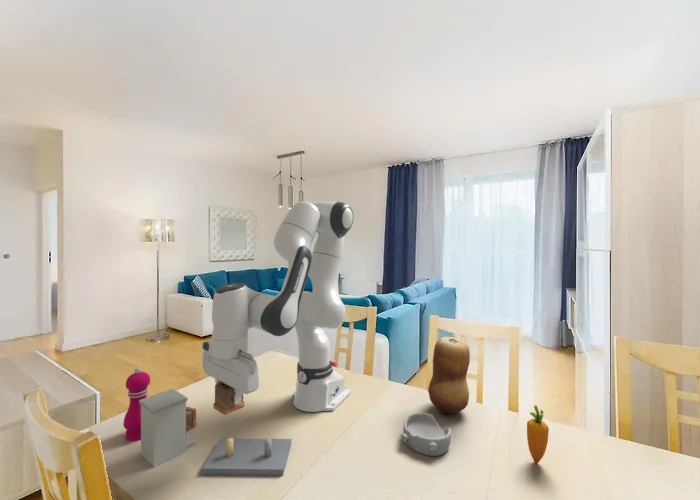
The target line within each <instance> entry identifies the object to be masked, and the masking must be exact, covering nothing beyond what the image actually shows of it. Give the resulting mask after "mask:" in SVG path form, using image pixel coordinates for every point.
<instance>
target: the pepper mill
mask: <svg viewBox="0 0 700 500" xmlns="http://www.w3.org/2000/svg"><path fill="white" fill-rule="evenodd" d="M142 370H143V369H142V368H141V367H136V368H135V369H134V373H132V374H130V375H129V376H128V377H127V378H126V382H125V388H126V389H127V391H128V392H127V393H128V394H127V397H128V398H129V405H128V408H127V411H126V413H125V416H124V419H123V428H124V430H126V431H125V439H126V440H127V441H129V442H133V441H134V442H137V441H139V440H140V441H141V404H140V403H139V400H141V399H144V398H147V397H148V396H147V395H148V394H149V387H148V386H149V385H150V383H151V377H150V375H149V373H147V372H145V371H142Z"/></svg>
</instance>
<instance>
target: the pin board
mask: <svg viewBox="0 0 700 500" xmlns="http://www.w3.org/2000/svg"><path fill="white" fill-rule="evenodd" d="M291 447H292V439H291V438H237V437H234V438H233V437H227V438H226V437H221V438H219V441H218V442H217V444H216V445H215V447H214V448H213V450H212V452H211V453H210V455H209V456H208V458H207V460H206V461H205V463H204V464H203V466H202V469H201V475H204V476H205V475H214V476H215V475H217V476H218V475H222V476H223V475H224V476H228V475H229V476H284V474H285V470H286V466H287V462H288V458H289V455H290V450H291Z"/></svg>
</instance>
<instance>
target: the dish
mask: <svg viewBox="0 0 700 500" xmlns="http://www.w3.org/2000/svg"><path fill="white" fill-rule="evenodd" d="M402 431H403V433H402V434H401V439H402V441H403V442H404V443H406V445H407V446H408V447H409V448H410V449H411V450H413V451H415V452H417V453H418V454H419V453H420V454H422V455H425V456H430V457H435V456H436V457H437V456H441V455H443V454H445V453H446V452H447V451H448V450H449V448H450V445H451V440H452V439H451V438H452V431H451V428H450V427H448V428H446V429H445V430H444V429H442V427H441V426H440V424H439V423H438V422H437V421H436V419H435V417H434V415H433V414H431V413H426V412H417V413H412V414H411V413H410V414H409V415H408V416H407V417H406V418H405V419H404V422H403V430H402Z"/></svg>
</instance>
